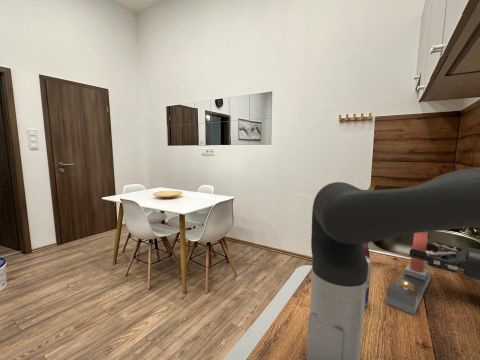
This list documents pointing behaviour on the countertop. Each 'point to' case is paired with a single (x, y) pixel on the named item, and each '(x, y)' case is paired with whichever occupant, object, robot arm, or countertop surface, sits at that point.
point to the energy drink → (368, 280)
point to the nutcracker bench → (417, 288)
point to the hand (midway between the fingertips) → (413, 247)
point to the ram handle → (417, 265)
